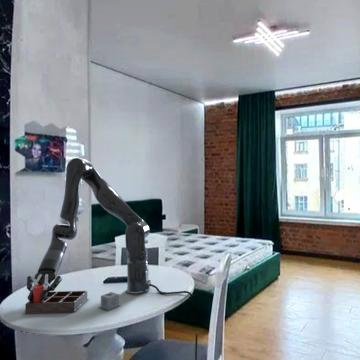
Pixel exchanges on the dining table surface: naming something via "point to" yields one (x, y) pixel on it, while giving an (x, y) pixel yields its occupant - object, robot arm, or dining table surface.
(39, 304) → the grid
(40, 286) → the red cylinder
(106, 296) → the dice cube
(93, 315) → the dining table surface
